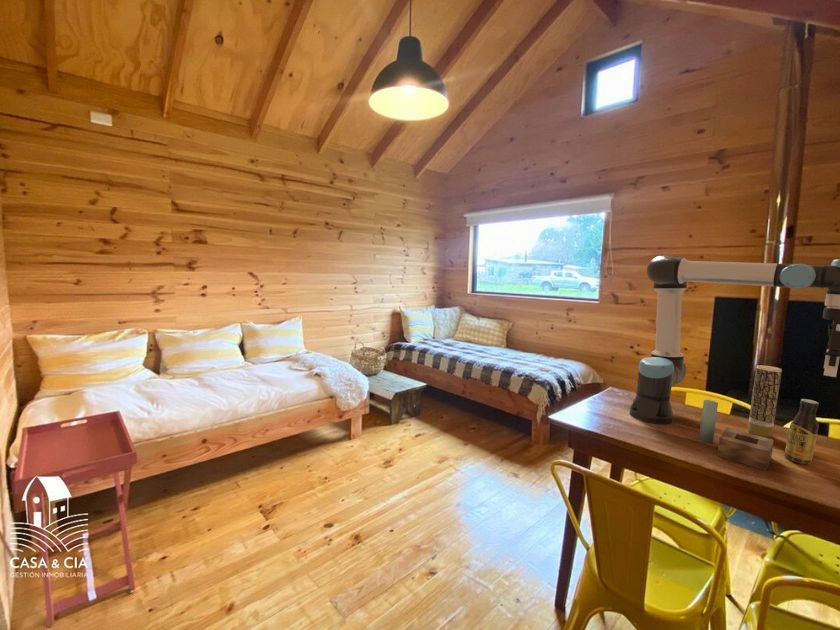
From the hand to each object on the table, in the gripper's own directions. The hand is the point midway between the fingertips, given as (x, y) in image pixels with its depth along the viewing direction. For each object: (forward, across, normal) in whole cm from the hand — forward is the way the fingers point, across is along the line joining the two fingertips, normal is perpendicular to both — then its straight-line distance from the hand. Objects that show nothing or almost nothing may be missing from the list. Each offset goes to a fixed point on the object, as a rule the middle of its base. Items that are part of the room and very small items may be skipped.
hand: (829, 372), depth 126 cm
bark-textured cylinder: (+27, +2, +14) cm, 31 cm away
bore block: (+27, -26, +16) cm, 40 cm away
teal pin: (+27, -20, +27) cm, 43 cm away
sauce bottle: (+27, -16, +4) cm, 32 cm away
